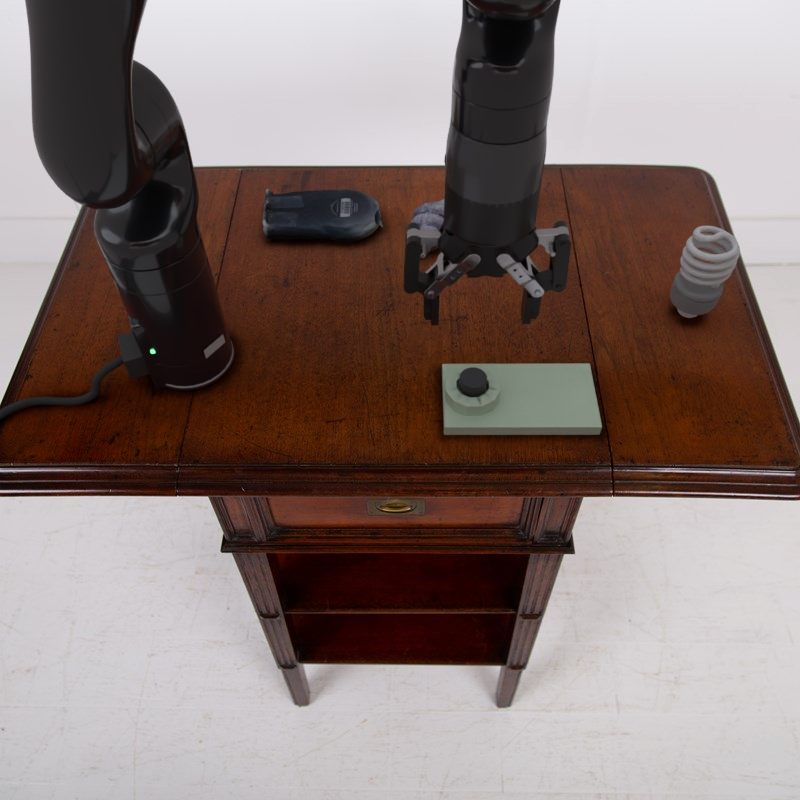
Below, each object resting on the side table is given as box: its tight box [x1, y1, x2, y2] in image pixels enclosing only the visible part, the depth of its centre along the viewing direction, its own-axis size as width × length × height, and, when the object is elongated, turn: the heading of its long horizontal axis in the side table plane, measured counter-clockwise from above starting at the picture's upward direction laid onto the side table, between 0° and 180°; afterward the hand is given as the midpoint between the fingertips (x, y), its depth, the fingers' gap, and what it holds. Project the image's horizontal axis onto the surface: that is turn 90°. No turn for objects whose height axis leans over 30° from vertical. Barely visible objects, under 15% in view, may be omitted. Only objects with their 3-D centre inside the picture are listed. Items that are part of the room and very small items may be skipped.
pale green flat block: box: [441, 362, 603, 436], centre depth 79 cm, size 16×9×3 cm, turn 89°
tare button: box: [459, 367, 487, 397], centre depth 78 cm, size 3×3×2 cm
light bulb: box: [669, 225, 741, 319], centre depth 83 cm, size 6×6×12 cm
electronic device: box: [262, 188, 383, 243], centre depth 98 cm, size 9×6×15 cm
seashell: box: [409, 198, 444, 252], centre depth 96 cm, size 5×5×10 cm
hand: (480, 318), depth 71 cm, fingers open, 8 cm apart
